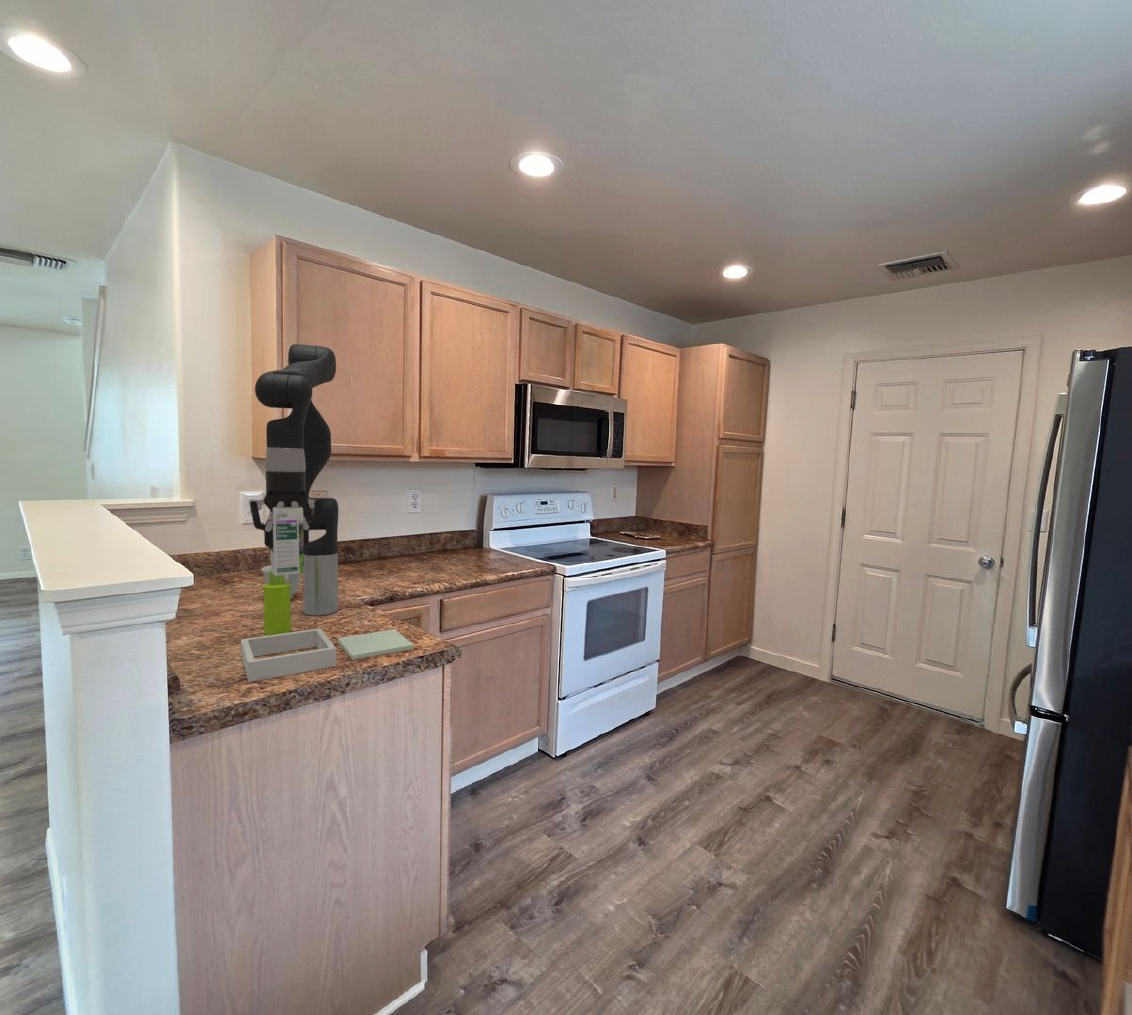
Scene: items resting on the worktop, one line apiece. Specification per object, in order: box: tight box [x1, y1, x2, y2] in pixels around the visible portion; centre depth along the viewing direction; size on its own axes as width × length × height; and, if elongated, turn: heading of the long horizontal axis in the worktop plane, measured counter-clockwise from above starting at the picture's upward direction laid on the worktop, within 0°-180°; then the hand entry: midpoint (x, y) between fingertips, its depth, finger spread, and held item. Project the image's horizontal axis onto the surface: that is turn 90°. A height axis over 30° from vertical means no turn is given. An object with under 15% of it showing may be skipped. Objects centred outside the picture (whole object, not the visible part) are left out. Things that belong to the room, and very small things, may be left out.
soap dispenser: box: [262, 557, 292, 636], centre depth 135 cm, size 6×7×20 cm
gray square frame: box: [240, 627, 337, 683], centre depth 118 cm, size 16×16×4 cm
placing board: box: [337, 628, 415, 661], centre depth 130 cm, size 14×14×1 cm
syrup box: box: [269, 507, 304, 576], centre depth 117 cm, size 6×6×14 cm
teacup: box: [260, 565, 302, 600], centre depth 169 cm, size 12×15×10 cm
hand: (286, 547), depth 117 cm, fingers closed on syrup box, 5 cm apart
